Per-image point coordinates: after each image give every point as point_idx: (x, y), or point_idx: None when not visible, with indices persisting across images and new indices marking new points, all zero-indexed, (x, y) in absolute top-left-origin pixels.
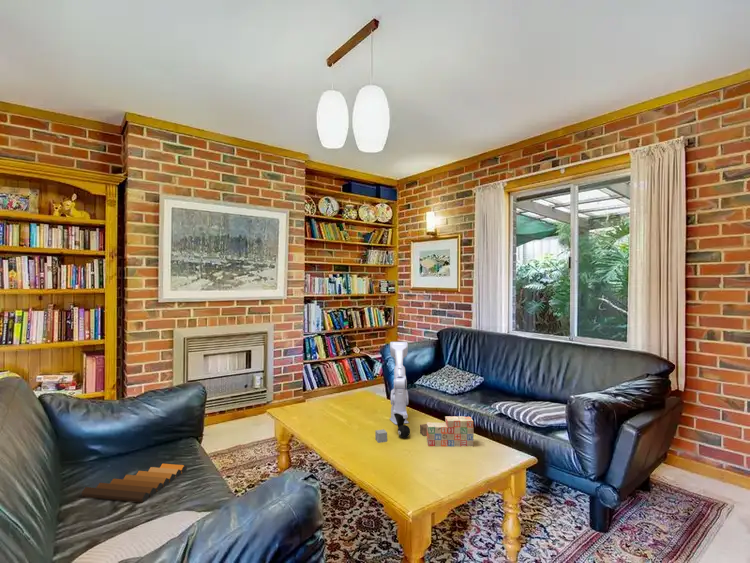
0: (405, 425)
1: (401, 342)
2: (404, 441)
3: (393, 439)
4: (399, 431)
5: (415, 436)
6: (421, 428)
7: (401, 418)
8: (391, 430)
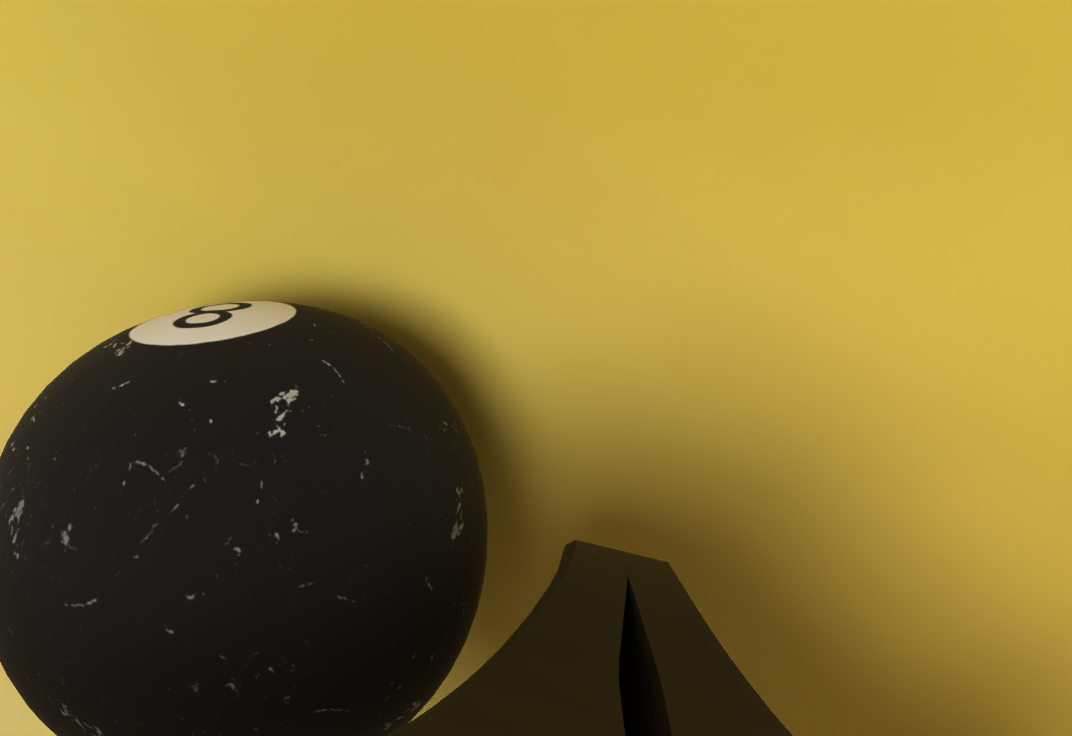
0: (113, 728)
1: None
2: (37, 268)
3: (330, 50)
4: (185, 332)
5: None
6: None
7: None
8: (1038, 448)
